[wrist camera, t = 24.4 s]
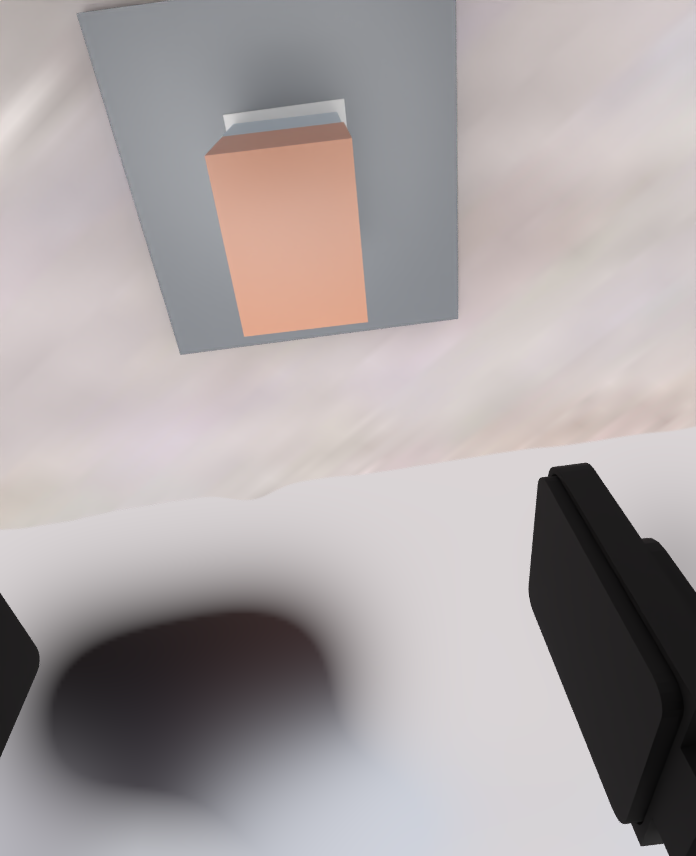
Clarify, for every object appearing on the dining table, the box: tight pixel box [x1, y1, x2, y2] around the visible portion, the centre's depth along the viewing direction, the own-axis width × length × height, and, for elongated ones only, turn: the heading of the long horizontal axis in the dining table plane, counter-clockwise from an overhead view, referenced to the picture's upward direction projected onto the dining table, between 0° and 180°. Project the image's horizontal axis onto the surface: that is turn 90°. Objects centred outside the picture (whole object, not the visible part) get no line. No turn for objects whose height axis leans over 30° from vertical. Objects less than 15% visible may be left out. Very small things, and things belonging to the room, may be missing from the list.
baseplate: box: [77, 0, 458, 355], centre depth 36 cm, size 20×20×1 cm
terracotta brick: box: [205, 122, 368, 337], centre depth 28 cm, size 8×6×6 cm
